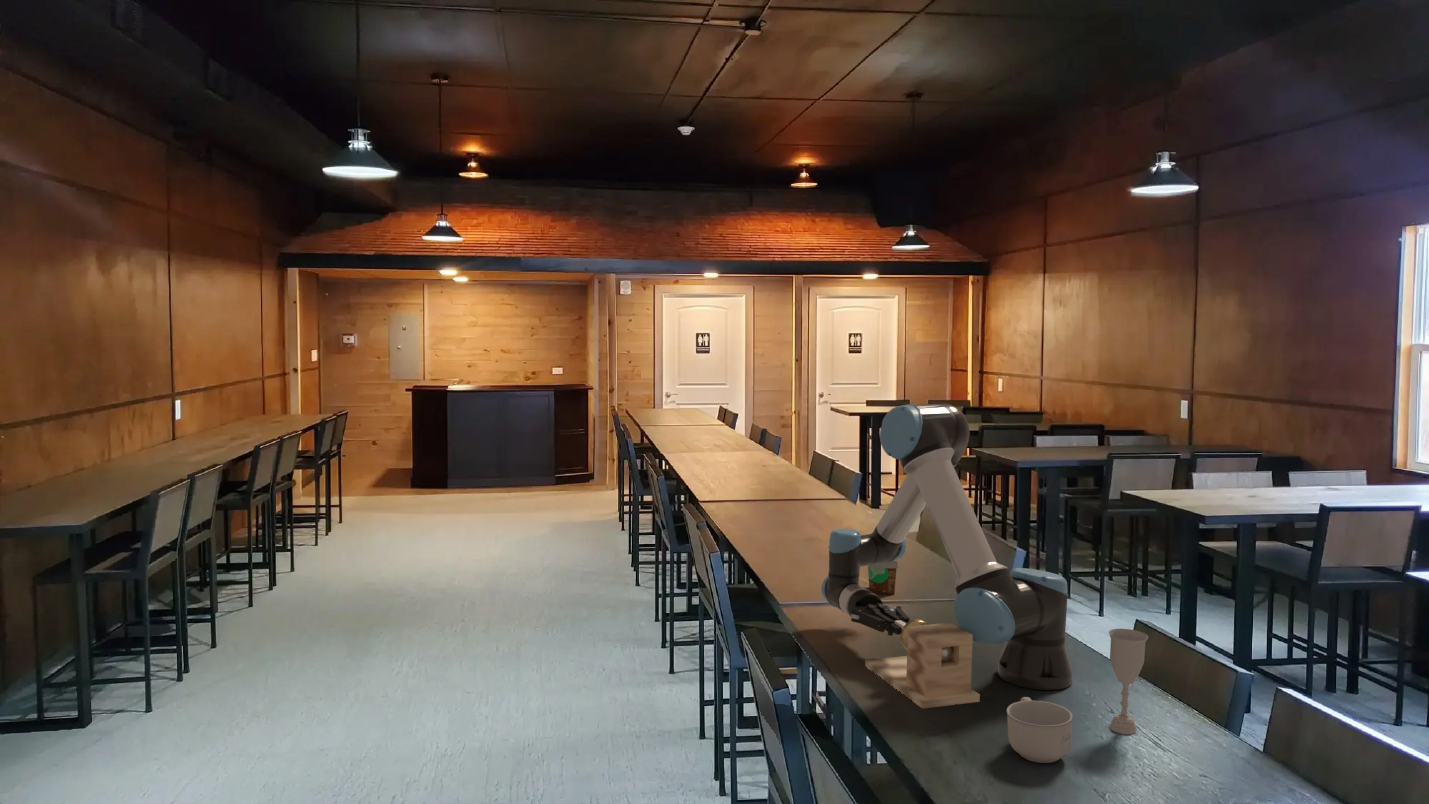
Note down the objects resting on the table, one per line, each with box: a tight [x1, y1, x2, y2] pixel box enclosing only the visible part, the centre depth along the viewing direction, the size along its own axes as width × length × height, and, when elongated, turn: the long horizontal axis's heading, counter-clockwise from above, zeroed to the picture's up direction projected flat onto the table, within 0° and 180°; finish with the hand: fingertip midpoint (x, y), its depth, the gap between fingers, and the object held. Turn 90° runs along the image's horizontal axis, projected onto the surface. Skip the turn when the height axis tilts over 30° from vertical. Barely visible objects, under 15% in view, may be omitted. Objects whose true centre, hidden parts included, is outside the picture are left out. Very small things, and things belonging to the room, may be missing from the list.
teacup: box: [1006, 696, 1073, 764], centre depth 164 cm, size 14×11×8 cm
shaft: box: [899, 618, 953, 661], centre depth 192 cm, size 12×7×7 cm, turn 18°
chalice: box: [1107, 628, 1149, 735], centre depth 174 cm, size 7×7×18 cm
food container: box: [867, 560, 899, 596], centre depth 266 cm, size 12×6×10 cm, turn 17°
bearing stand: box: [864, 622, 981, 709], centre depth 195 cm, size 24×13×14 cm, turn 18°
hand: (912, 635), depth 198 cm, fingers closed
